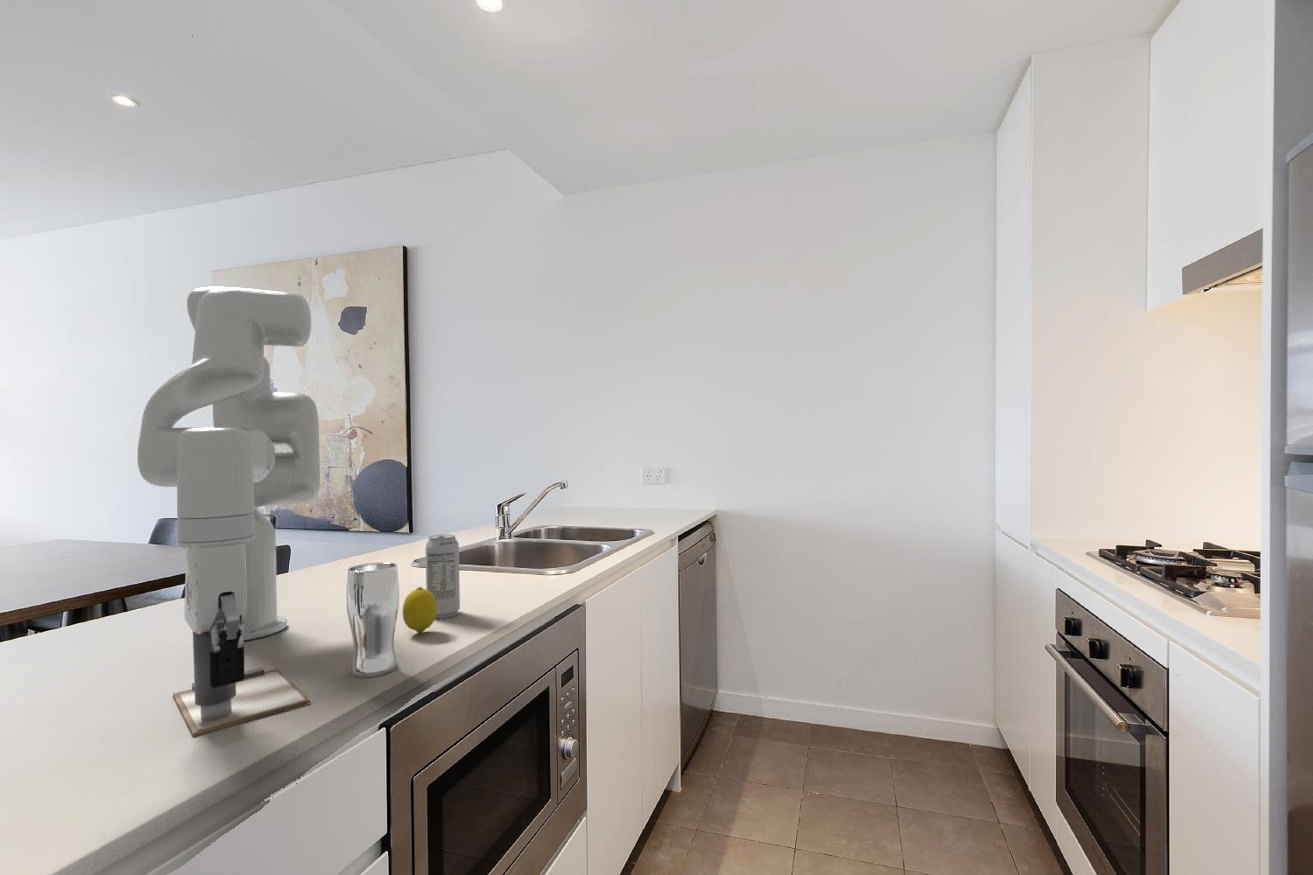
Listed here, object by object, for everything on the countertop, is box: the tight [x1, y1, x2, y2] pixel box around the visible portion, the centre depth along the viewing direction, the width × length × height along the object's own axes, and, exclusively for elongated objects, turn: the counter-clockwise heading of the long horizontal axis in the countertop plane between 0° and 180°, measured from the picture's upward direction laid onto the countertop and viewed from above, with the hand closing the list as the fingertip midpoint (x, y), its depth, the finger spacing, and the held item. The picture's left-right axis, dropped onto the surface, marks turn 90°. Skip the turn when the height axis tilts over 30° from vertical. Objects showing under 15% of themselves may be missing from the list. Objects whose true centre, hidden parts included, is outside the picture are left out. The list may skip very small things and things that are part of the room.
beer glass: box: [345, 561, 400, 679], centre depth 89 cm, size 7×7×15 cm
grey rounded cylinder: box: [191, 622, 236, 721], centre depth 73 cm, size 4×4×12 cm
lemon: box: [402, 586, 437, 634], centre depth 106 cm, size 6×6×8 cm
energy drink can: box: [425, 534, 461, 619], centre depth 117 cm, size 6×6×15 cm
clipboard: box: [172, 666, 311, 738], centre depth 79 cm, size 16×12×1 cm
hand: (219, 672), depth 74 cm, fingers open, 9 cm apart
